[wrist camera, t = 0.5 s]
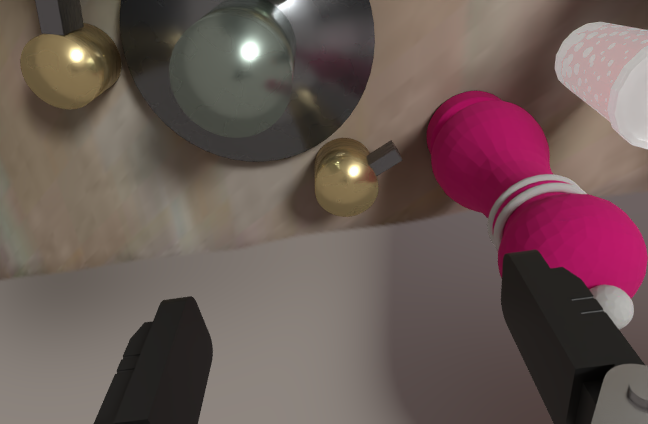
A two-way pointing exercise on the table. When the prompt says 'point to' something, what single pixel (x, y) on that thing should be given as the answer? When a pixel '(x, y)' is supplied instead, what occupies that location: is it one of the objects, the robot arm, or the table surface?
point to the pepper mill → (534, 198)
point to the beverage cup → (609, 75)
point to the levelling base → (312, 76)
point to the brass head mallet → (68, 57)
